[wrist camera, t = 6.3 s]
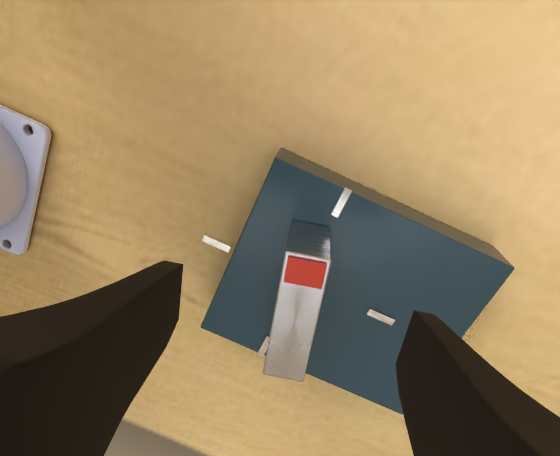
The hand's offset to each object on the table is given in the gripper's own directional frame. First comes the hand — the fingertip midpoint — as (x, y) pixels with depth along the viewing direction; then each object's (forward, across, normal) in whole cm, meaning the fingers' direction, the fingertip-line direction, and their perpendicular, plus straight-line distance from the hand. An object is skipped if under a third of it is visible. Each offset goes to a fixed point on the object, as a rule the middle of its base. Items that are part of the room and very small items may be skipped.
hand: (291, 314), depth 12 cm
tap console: (+9, -3, +3) cm, 10 cm away
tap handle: (+7, 0, +3) cm, 7 cm away
